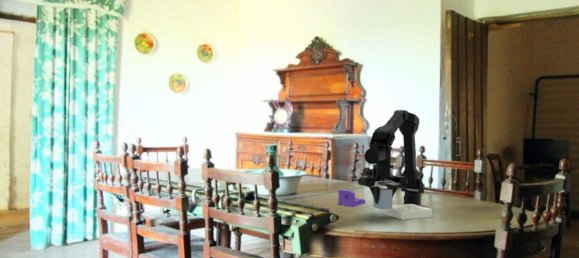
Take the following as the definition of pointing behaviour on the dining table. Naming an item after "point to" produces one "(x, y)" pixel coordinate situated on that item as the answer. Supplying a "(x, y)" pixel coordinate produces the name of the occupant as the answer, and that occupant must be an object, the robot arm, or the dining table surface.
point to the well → (408, 211)
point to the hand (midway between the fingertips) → (382, 203)
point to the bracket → (348, 198)
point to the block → (384, 199)
